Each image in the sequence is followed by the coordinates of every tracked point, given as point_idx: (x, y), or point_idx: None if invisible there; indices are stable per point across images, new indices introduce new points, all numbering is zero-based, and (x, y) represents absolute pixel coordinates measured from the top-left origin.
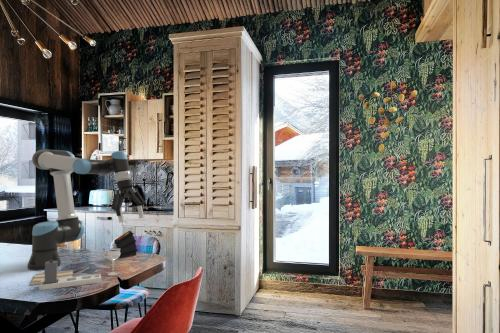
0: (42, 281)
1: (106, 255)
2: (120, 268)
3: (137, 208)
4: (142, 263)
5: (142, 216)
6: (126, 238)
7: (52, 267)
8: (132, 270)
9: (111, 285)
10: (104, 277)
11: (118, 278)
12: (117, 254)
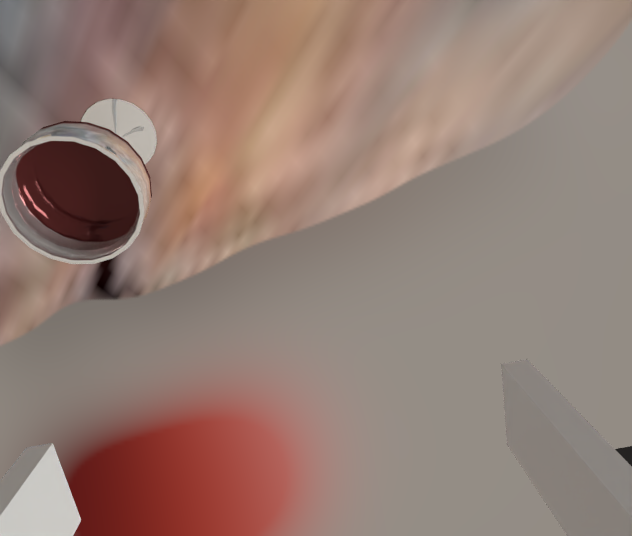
0: None
1: (14, 176)
2: (226, 47)
3: (614, 502)
4: (420, 58)
5: (515, 447)
6: None
7: None
8: (258, 168)
9: (22, 330)
10: None
11: None
12: (98, 247)
